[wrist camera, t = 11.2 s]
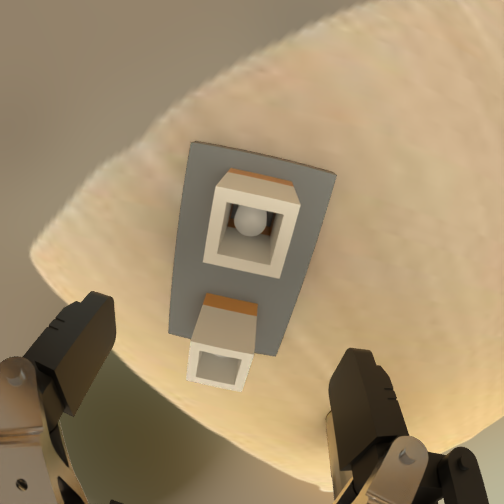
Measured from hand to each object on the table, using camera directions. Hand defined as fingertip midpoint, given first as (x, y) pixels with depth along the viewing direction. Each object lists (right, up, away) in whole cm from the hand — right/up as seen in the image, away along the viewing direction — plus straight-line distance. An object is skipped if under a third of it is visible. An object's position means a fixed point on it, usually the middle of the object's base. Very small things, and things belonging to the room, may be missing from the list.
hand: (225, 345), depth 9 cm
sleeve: (+1, +7, +15) cm, 17 cm away
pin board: (0, +2, +19) cm, 19 cm away
